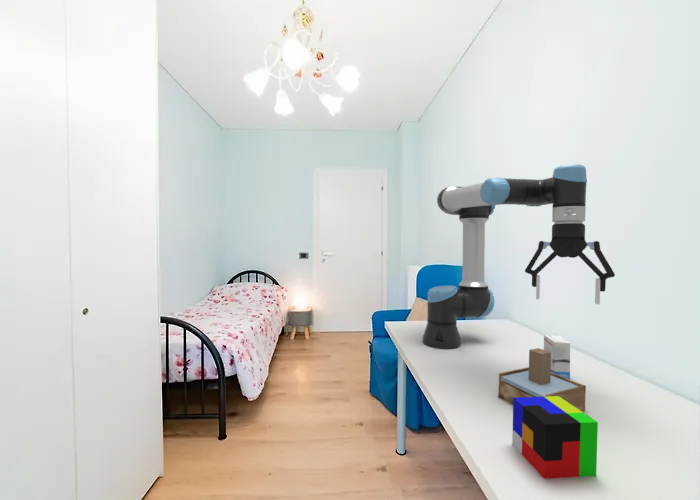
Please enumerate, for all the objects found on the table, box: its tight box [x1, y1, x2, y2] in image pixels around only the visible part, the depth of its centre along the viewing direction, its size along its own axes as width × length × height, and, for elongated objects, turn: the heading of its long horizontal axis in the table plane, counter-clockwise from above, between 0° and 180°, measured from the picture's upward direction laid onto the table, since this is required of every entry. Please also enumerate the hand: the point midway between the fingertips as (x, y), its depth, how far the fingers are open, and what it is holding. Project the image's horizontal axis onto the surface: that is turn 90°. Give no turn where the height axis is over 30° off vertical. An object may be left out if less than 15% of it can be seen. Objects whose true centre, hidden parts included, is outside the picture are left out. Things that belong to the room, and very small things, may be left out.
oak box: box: [497, 366, 587, 413], centre depth 86 cm, size 14×14×6 cm
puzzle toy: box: [511, 396, 599, 480], centre depth 65 cm, size 10×10×10 cm
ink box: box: [543, 334, 571, 380], centre depth 105 cm, size 9×5×12 cm, turn 168°
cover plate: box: [501, 347, 578, 397], centre depth 86 cm, size 12×13×9 cm
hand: (566, 301), depth 90 cm, fingers open, 13 cm apart
